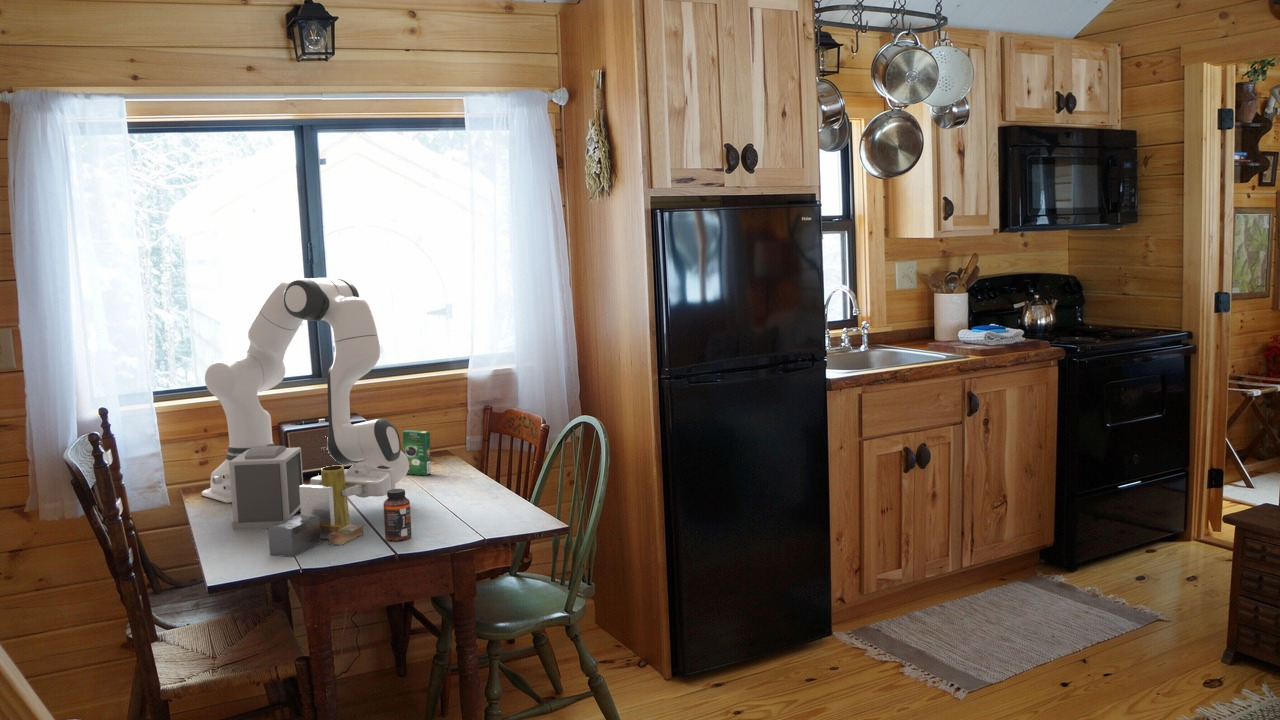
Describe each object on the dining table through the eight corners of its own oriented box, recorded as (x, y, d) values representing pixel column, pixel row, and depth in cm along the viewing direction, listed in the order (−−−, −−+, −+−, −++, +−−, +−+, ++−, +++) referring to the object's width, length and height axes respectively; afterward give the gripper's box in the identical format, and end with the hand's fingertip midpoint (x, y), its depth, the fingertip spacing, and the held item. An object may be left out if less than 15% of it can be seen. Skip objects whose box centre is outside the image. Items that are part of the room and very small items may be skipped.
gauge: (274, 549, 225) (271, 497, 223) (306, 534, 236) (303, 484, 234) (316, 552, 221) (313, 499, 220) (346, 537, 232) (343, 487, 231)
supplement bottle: (412, 540, 230) (410, 492, 229) (385, 543, 228) (383, 494, 227) (410, 533, 236) (408, 486, 234) (384, 536, 234) (382, 488, 233)
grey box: (254, 510, 261) (249, 441, 259) (306, 508, 262) (302, 439, 259) (231, 530, 242) (225, 455, 240) (287, 527, 243) (282, 453, 241)
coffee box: (432, 473, 297) (430, 430, 296) (427, 476, 295) (425, 432, 293) (409, 472, 300) (406, 429, 298) (403, 474, 297) (401, 431, 296)
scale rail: (329, 544, 228) (328, 534, 228) (352, 533, 237) (351, 523, 237) (340, 545, 227) (340, 535, 227) (363, 534, 236) (362, 524, 236)
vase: (340, 530, 237) (335, 471, 234) (318, 528, 239) (313, 470, 236) (355, 522, 242) (350, 465, 240) (334, 520, 244) (329, 464, 242)
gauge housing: (270, 554, 222) (268, 527, 221) (298, 541, 231) (296, 515, 230) (293, 556, 220) (291, 528, 219) (320, 543, 229) (318, 516, 229)
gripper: (328, 464, 254) (294, 477, 241) (399, 468, 248) (368, 481, 235) (330, 489, 255) (295, 503, 242) (400, 493, 249) (369, 507, 235)
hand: (332, 492), depth 238 cm, fingers closed on vase, 5 cm apart
